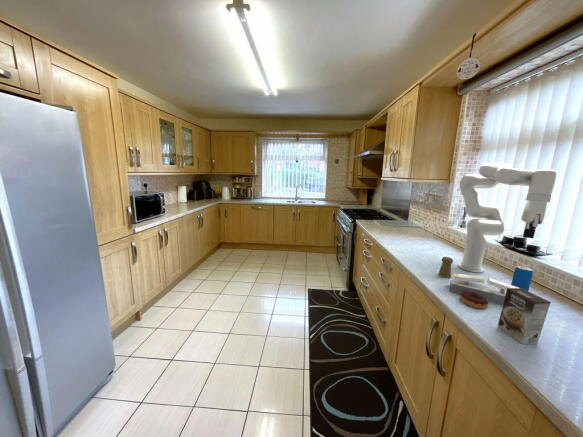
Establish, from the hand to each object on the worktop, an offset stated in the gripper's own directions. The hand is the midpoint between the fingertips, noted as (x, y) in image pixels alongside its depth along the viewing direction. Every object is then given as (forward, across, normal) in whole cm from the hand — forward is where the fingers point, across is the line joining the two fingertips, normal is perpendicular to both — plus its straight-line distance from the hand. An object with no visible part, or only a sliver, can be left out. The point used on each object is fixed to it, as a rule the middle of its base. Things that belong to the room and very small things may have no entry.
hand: (527, 237), depth 104 cm
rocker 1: (+22, +10, -20) cm, 31 cm away
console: (+29, +11, -12) cm, 34 cm away
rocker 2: (+22, +10, -6) cm, 25 cm away
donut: (+30, +22, -18) cm, 41 cm away
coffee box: (+29, +39, -7) cm, 49 cm away
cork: (+29, -5, -28) cm, 41 cm away
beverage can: (+29, -9, +4) cm, 31 cm away
